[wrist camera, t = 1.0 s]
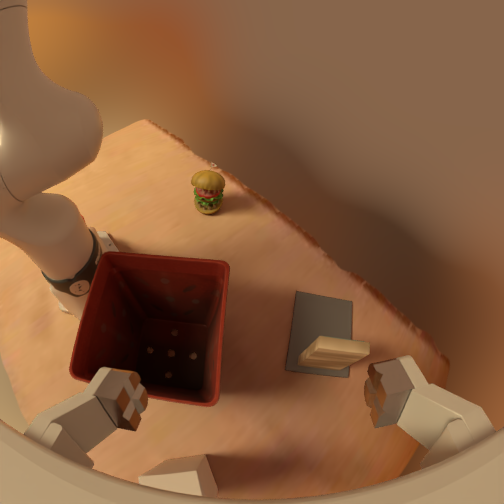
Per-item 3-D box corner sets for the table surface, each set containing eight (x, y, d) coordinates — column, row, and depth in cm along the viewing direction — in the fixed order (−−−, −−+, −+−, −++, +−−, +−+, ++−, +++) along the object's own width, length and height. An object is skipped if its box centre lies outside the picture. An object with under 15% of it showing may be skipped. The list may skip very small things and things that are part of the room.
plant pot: (132, 298, 49) (102, 248, 35) (228, 309, 50) (230, 260, 36) (114, 393, 38) (66, 376, 24) (221, 411, 39) (218, 408, 25)
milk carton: (164, 459, 33) (127, 482, 17) (205, 453, 34) (192, 477, 19) (177, 494, 29) (149, 534, 13) (218, 488, 30) (214, 530, 15)
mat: (347, 377, 44) (348, 377, 43) (285, 370, 44) (285, 369, 44) (351, 302, 53) (352, 301, 53) (296, 291, 53) (296, 290, 53)
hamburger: (188, 212, 63) (183, 173, 53) (200, 193, 67) (198, 154, 57) (218, 221, 62) (218, 181, 52) (229, 200, 66) (230, 161, 56)
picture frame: (339, 370, 44) (369, 354, 34) (297, 365, 44) (318, 347, 35) (340, 359, 45) (369, 340, 36) (299, 354, 46) (320, 333, 36)
